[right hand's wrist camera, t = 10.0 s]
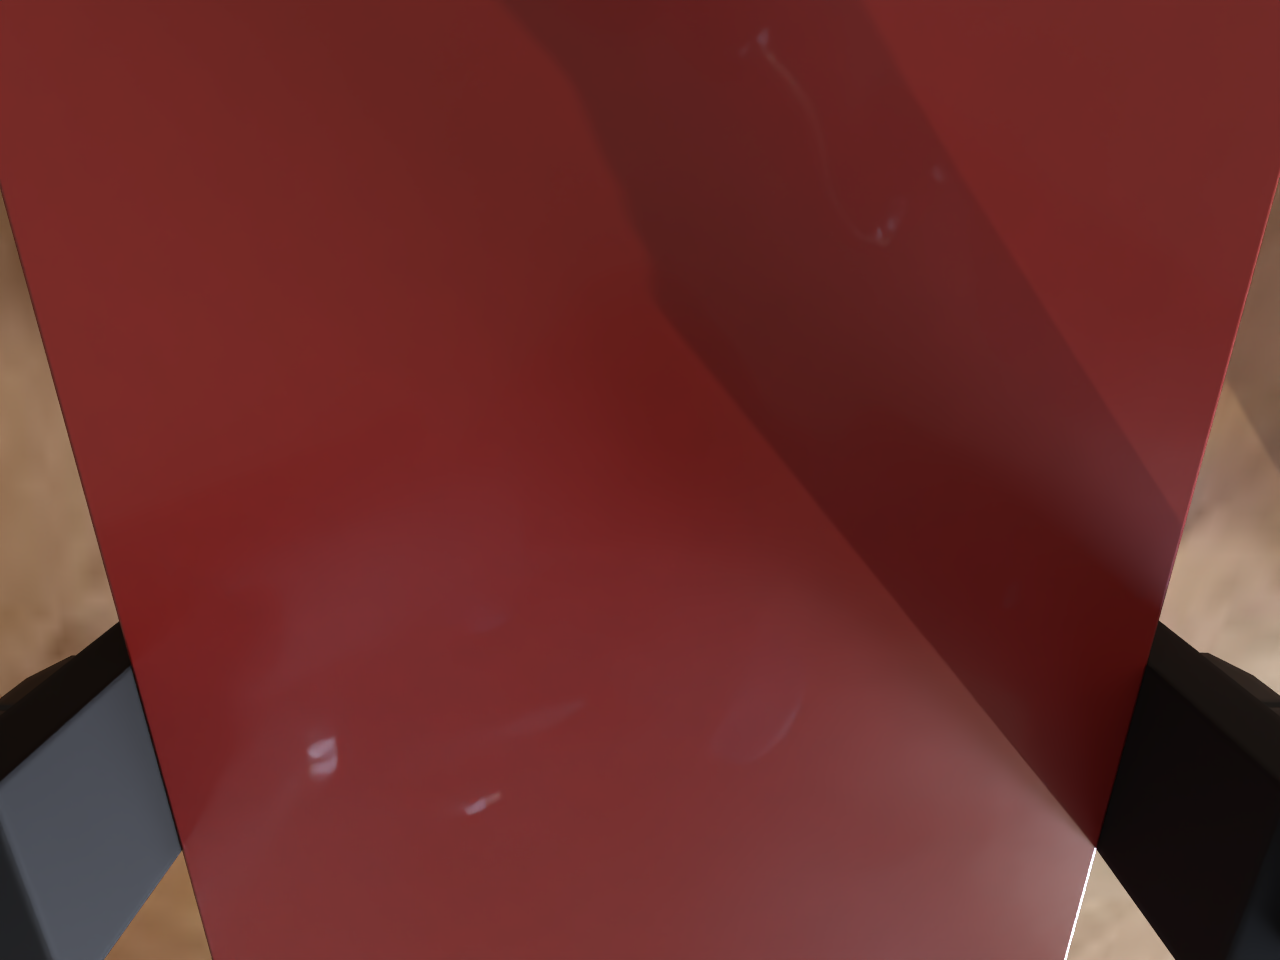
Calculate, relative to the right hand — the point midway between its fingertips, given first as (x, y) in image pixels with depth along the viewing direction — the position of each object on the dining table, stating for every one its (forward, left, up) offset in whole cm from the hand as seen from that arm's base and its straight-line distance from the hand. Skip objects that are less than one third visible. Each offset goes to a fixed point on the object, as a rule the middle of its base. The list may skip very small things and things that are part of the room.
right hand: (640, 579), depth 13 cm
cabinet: (+4, -3, -7) cm, 9 cm away
